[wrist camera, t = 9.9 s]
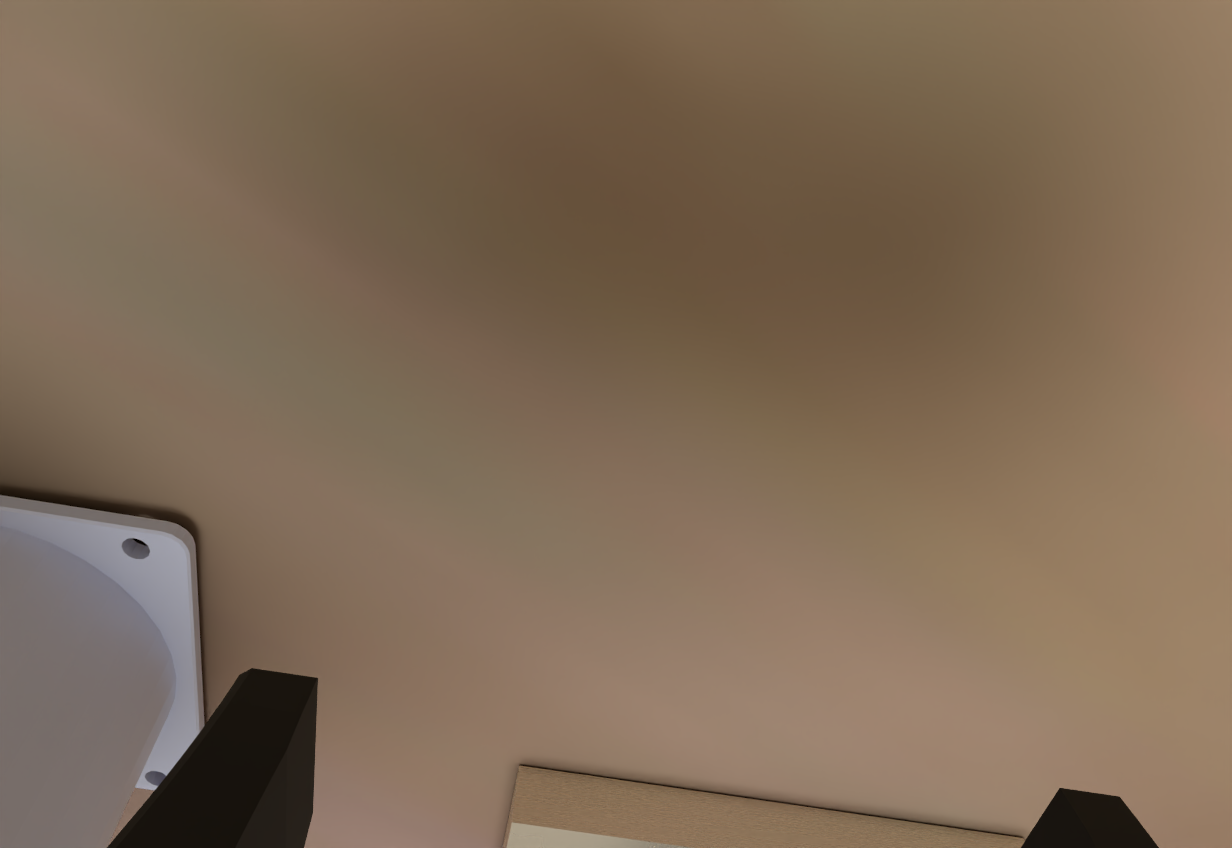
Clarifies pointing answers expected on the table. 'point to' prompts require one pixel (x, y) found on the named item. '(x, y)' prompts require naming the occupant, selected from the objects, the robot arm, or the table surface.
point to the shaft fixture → (699, 820)
